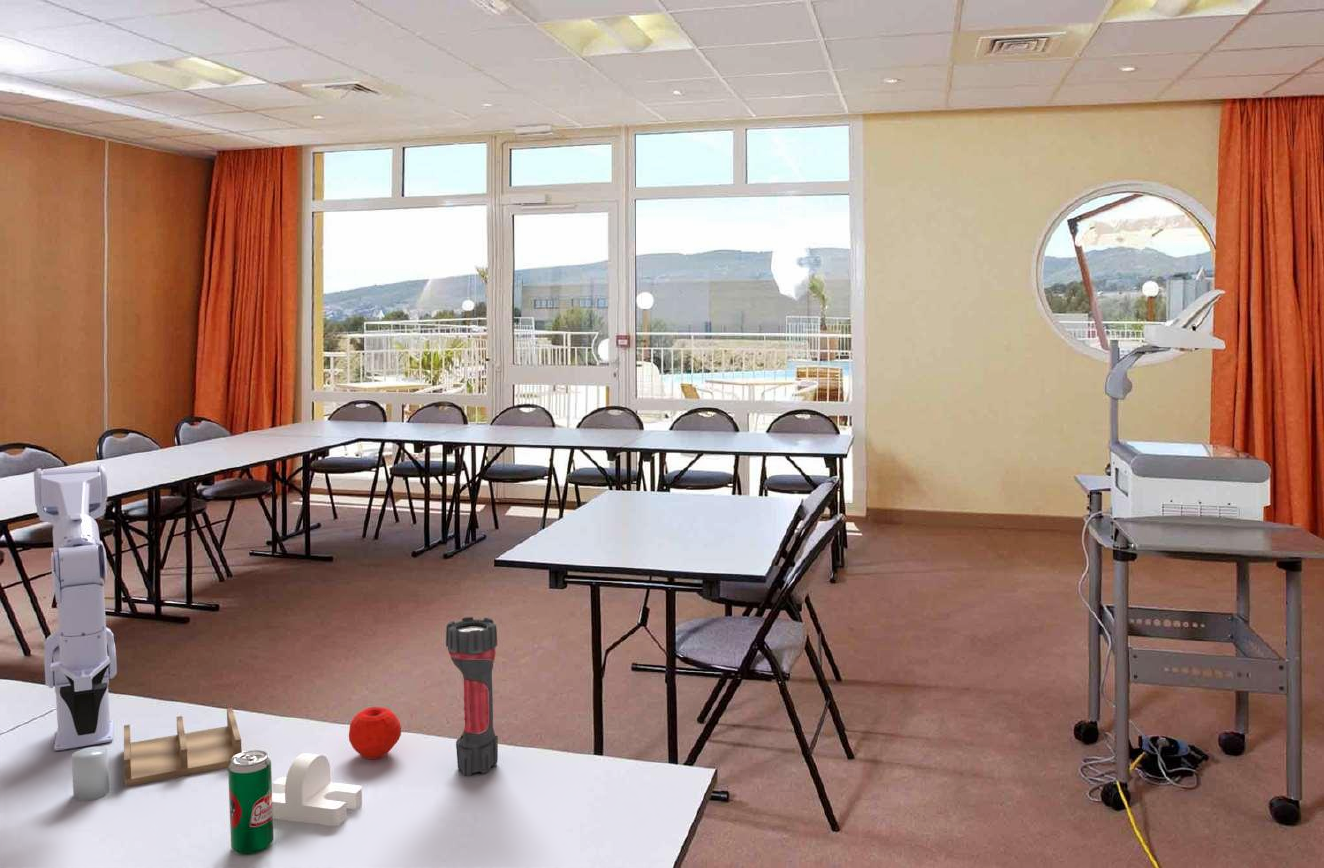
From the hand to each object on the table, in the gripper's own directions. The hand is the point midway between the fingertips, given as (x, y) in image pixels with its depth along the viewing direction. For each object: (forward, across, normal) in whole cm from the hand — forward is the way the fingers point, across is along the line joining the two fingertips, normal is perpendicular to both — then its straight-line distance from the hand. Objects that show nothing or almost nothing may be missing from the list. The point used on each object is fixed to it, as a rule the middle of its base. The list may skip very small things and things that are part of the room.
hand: (87, 723), depth 137 cm
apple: (+11, +6, +38) cm, 40 cm away
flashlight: (+10, +18, +50) cm, 55 cm away
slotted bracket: (+11, +19, +26) cm, 34 cm away
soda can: (+10, +26, +18) cm, 34 cm away
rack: (+10, -7, +12) cm, 17 cm away
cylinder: (+10, 0, 0) cm, 10 cm away
